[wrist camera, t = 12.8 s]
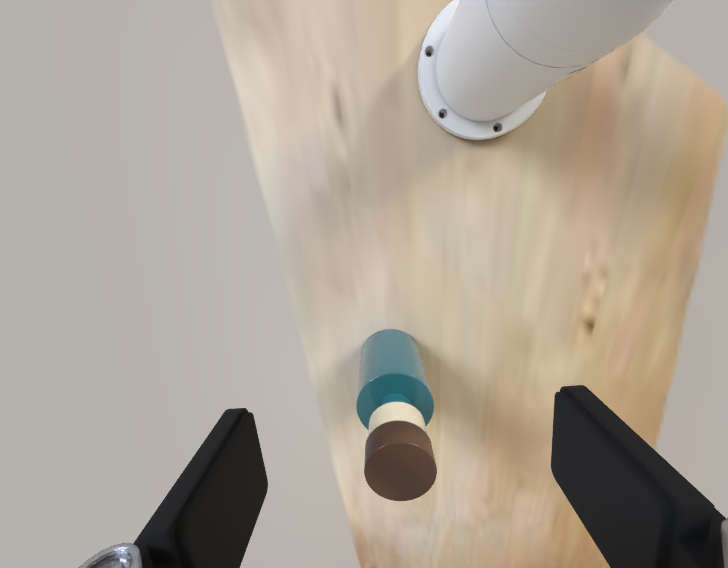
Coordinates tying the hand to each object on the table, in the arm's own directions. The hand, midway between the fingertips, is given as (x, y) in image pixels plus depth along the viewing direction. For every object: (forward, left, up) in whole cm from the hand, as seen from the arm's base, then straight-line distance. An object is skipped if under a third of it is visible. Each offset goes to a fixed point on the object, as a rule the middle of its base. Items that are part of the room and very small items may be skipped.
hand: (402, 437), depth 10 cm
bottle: (+8, +9, -28) cm, 31 cm away
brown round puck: (+8, +9, -13) cm, 18 cm away
